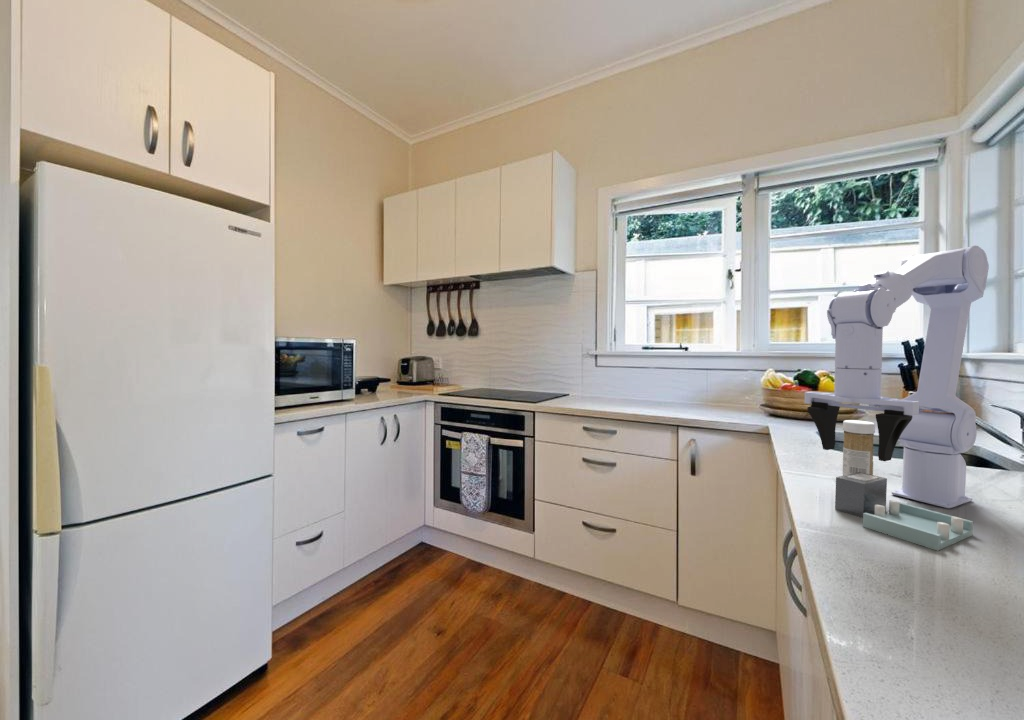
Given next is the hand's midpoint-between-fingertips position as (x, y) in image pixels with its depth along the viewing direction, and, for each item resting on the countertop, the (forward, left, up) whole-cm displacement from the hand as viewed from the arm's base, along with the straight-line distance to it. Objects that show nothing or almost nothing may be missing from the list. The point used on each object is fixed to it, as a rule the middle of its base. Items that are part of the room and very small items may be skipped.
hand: (855, 454), depth 68 cm
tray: (-3, +7, -10) cm, 12 cm away
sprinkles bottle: (-13, -6, -10) cm, 18 cm away
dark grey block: (-5, -1, -10) cm, 11 cm away
